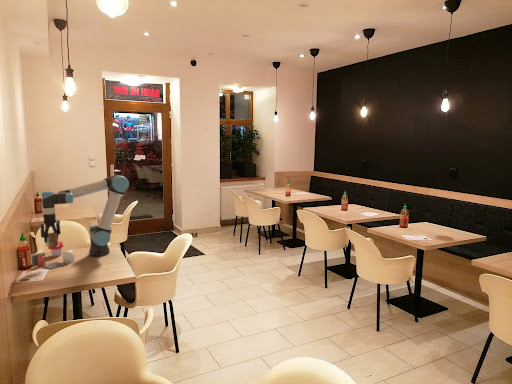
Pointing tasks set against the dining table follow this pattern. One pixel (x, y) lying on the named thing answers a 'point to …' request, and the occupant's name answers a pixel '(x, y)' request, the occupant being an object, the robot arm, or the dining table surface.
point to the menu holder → (36, 258)
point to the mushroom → (57, 249)
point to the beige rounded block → (68, 256)
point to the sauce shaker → (41, 260)
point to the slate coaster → (53, 265)
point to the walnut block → (52, 239)
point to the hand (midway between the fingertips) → (51, 245)
